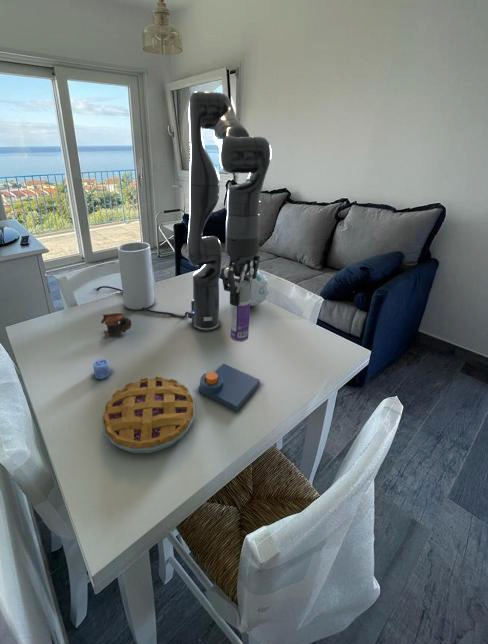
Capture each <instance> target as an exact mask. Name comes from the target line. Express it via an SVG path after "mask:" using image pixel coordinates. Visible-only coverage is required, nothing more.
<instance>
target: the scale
mask: <svg viewBox="0 0 488 644" xmlns="http://www.w3.org/2000/svg"><path fill="white" fill-rule="evenodd" d="M214 372H215V373H216V374H217V375H218V382H217V383H216V384H214V385H209V384H207V383H206V374H207V373H208V372H206V373H204V374H202V375H201V376H200V379H199V386H198V392H199V393H201V394H203V395H204V396H206V397H209V399H212V400H214V401H216V402H218V403H220V404H221V405H223V406H226V407H227V408H229V409H230V410H232V411H234V412H238V411H239V410H240V409H241V407H242V406H243V405H244V404H245V403H246V401H247V400H248V399H249V398H250V397H251V396H252V394H253V393H254V392H255V390H256V389H257V388H258V387H259V386H260V383H261V382H260V381H261V380H260V379H259V378H257V377H255V376H252V375H250V374H249V373H246V372H244V371H241V370H239V369H237V368H234V367H232V366H230V365H228V364H225V363H222V364H221V365H220V366H219V367H218V368H217V369H216V370H214Z"/></svg>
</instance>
